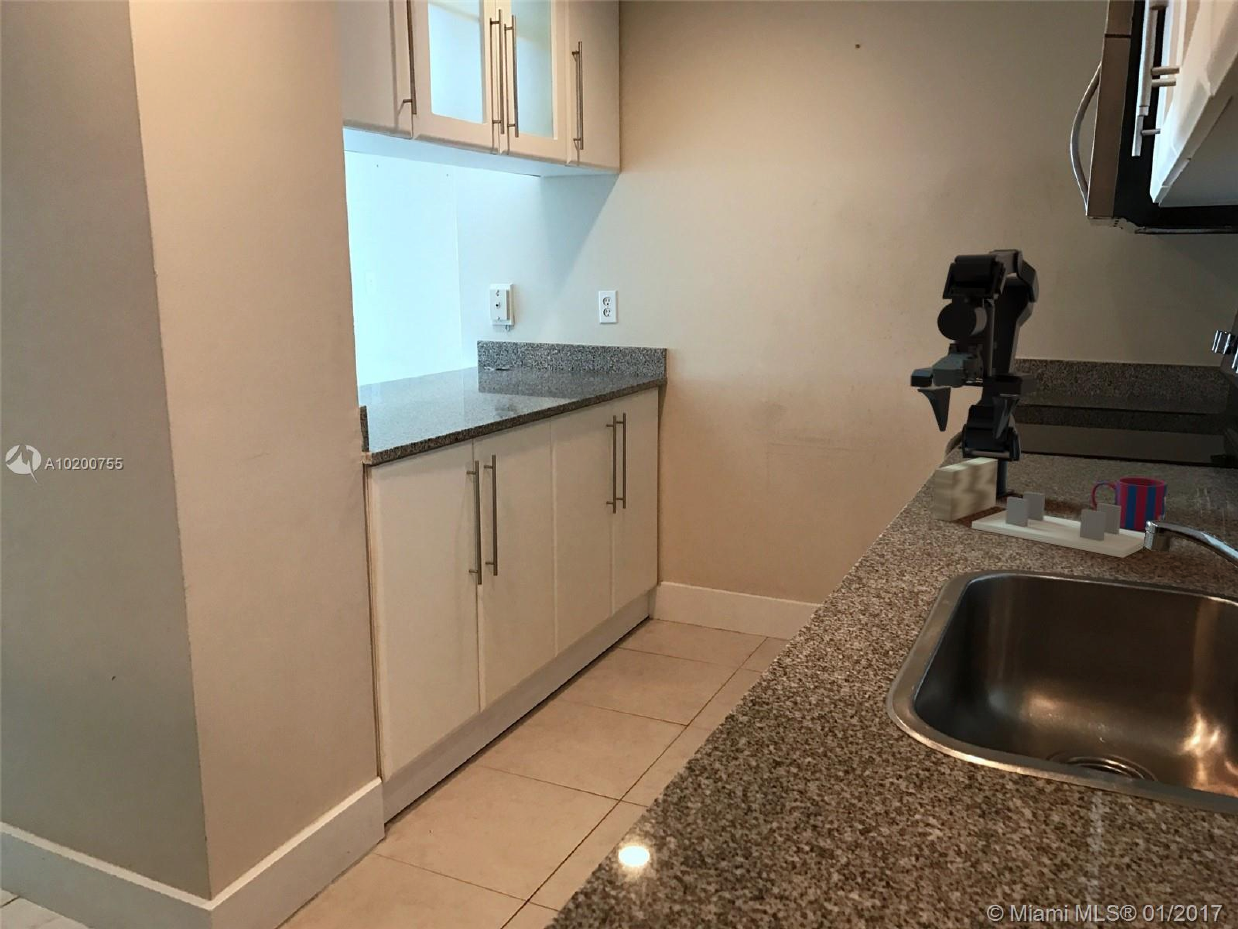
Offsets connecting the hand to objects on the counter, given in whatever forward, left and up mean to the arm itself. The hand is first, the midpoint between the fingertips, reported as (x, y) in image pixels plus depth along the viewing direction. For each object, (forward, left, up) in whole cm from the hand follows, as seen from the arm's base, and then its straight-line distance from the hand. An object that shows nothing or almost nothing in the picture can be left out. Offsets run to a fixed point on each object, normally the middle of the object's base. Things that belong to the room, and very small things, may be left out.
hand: (968, 434), depth 153 cm
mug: (-10, +21, -13) cm, 27 cm away
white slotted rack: (+3, +17, -13) cm, 21 cm away
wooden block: (0, 0, -13) cm, 13 cm away
